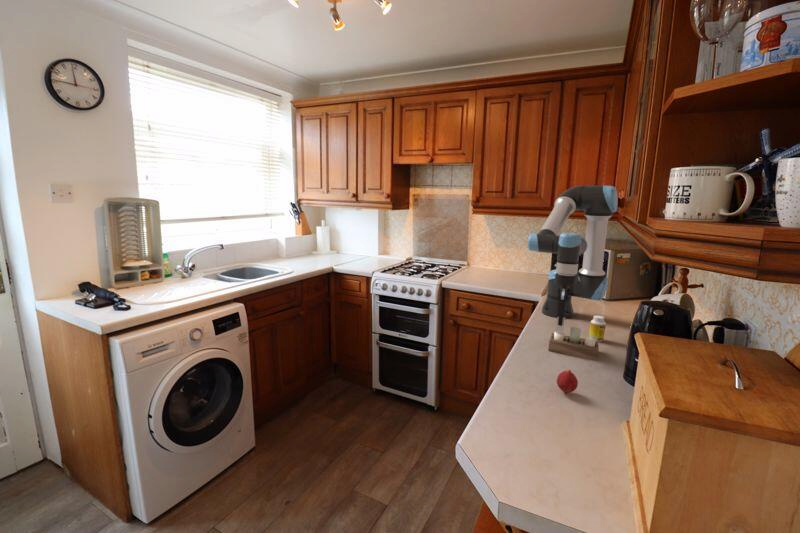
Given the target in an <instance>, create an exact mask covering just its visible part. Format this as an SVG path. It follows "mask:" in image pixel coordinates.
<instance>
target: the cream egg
mask: <svg viewBox="0 0 800 533" xmlns="http://www.w3.org/2000/svg"><path fill="white" fill-rule="evenodd" d="M564 335H565V333H564V332H563V334H562V333H556V331H554V340H560V341H564Z"/></svg>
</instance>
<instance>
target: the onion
mask: <svg viewBox="0 0 800 533" xmlns="http://www.w3.org/2000/svg"><path fill="white" fill-rule="evenodd" d="M556 384H557V387H558V388H559V389H560V390H561V391H562V393H564V394H565V395H567V394H570V393H573V392H574V391H575V390H577V388H578V384H579V381H578V379H577V376H576V375H575V374H574V373H573V372H572V370H571V369H569V368H568V369H567V370H564V371H562V372H560V373H559V374H558V375H557V378H556Z"/></svg>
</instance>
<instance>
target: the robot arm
mask: <svg viewBox="0 0 800 533" xmlns="http://www.w3.org/2000/svg"><path fill="white" fill-rule="evenodd" d="M618 196H619V194H618V190H617V188H616V187H615V186H612V185H605V184H604V185H582V184H581V185H575V186H573V187H570V188H568V189H566V190H565V191H563V192H562V193H561V194H560V195H559V196H558V197H557V198H556V200H555V201H554V205H553V209H552V211H551V212H550V213H549V215H548V217H547V219H546V221H545V222H544V223H543V225H542V227H541V228H540V230H539V232H538V233H537V232H536V233H530V234H529V236H528V239H527V248H528V250H529V251H532V252H535V253H536V252H537V253H545V254H546V253H547V254H555V255H557V256H556V263H555V264H554V267H555V269H551V270H550V271H549V274H548V279H547V292H546V298H545V300H544V302H543V304H542V307H541V313H542V314H544V315H546V316H550V317H553V318H556V326H555V332H556V333H562V334H563V333H564V329H565V321H566V320H565V319H568V318H573V317H574V311H575V310H574V307H573V303H572V297H575V298H581V299H586V300H590V301H591V300H592V301H601V300H603V298H604V296H605V294H606V291H607V288H608V285H609V280H610V279H609V277H606V272H605V271H604V270H603V267H604V257H605V248H606V242H607V241H606V240H607V234H608V233H607V232H608V231H607V230H608V223H609V219H611V217H613V215H614V214H613V213H616V212H617V211H618V205H619V203H618V202H619V200H618V199H619V197H618ZM576 211H584V213H583V214H584V217H585V218H586V219H587V220H586V229H585V238H584V237H582V235H581V234H579V233H574V232H562V233H561V231H562V229H563V227H564V226H565V224H566V222H567V221H568V219H569V217H570V215H571V214H573V213H574V212H576ZM581 255H583V257H582V258H583V259H582V268H580V269H579V259H580V258H579V257H580V256H581ZM578 269H579V270H578Z"/></svg>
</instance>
